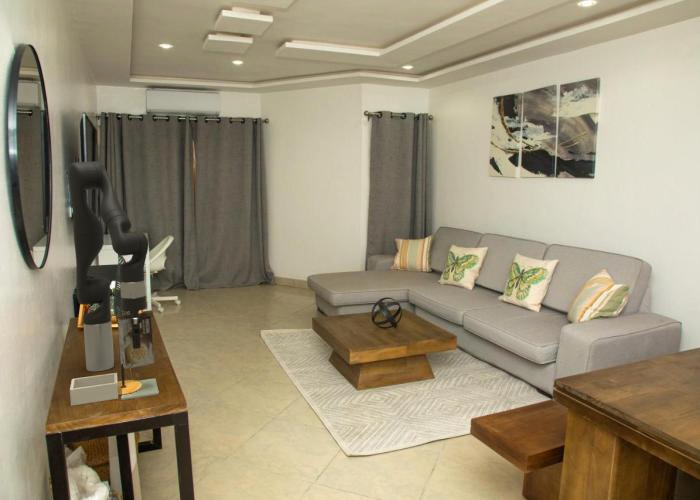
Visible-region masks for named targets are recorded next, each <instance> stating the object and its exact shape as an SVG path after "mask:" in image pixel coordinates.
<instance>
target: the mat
mask: <svg viewBox="0 0 700 500" xmlns="http://www.w3.org/2000/svg"><path fill="white" fill-rule="evenodd" d="M137 381H138V382H141V383H142V387H141V389H140V390H138V391H137V392H134V393H132V394H127V395H122V396H121V395H120V396H121V397H120V398H121V401H126V400H130V399H138V398H139V399H140V398H144V397H149V396H157V395H159V394H160V391H159V388H158V384H157V379H156V377H155V378H148V379H142V380H137Z"/></svg>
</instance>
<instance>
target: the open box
mask: <svg viewBox="0 0 700 500" xmlns="http://www.w3.org/2000/svg"><path fill="white" fill-rule="evenodd" d="M70 383H71V384H70V388H69V396H70V397H69V398H70V407H72V406H73V407H74V406H78V405H84V404H85V405H86V404H91V403H98V402H103V401H112V400H116V399H117V400H119V386H118V385H119V384H118V383H119V382H118V372H113V373H106V374H98V375H92V376H85V377H77V378H72V379H71V382H70Z"/></svg>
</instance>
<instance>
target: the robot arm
mask: <svg viewBox="0 0 700 500" xmlns="http://www.w3.org/2000/svg"><path fill="white" fill-rule="evenodd" d="M67 171H68V173H67V177H68V184H69V191H70V198H71V205H72V207H71V208H72V216H73V217H72V218H73V219H72V221H73V225H72V226H73V241H74V243H73V244H74V251H75V253H74V254H75V263H76V264H75V265H76V272H75V273H76V276H75V277H76V278H75V279H76V280H75V281H76V285H75V287H76V299H77V302H78V304H79V305H82V306H85V305H96V304H100V305H99V306H98V307H96V308H95V309H94V310H92V311H90V312H87V313H85V314H84V315H83V316H82V321H83V339H84V353H85V364H86V365H85V367H86V370H87V371H88V372H102V371H107V370H110V369H112V368H114V367H115V360H114V345H113V344H114V342H113V341H114V340H113V328H112V327H113V326H112V313H111V312H112V311H111V287H110V286H111V284H110V281H109V279H108V278H107V277H94V278H93V277H92V278H91V277H90V278H87V277H88V273H89V271H90V268H91V266H92V264H93V262H95V260H96V258H97V256H98V255H99V254H100V252H101V251H102V249H103V246H104V241H105V240H104V226H103V224H102V222H101V220H100V219H99V217H98V216H97V215H96V213H94V211H93V210H92V209H91V207H90V206H89V204H88V203H87V200H86V195H85V191H86V190H98V189H99V190H100V191H101V193H102V194H101V195H102V196H101V197H102V198H101V203H100V206H99V213H100V217H101V219H102V221H103V223H104V224H105V226H106V228H107V230H108V232H109V237H110V240H111V247H112V249H113V252H115V253H116V254H117V255H118V256H122V257H124V256H131V257H130V260H129V261H125V262H123V263H122V264H120V267H119V271H120V272H119V273H120V304H121V306H120V307H121V310H122V311H124V312H127V313H128V312H129V313H130V314H131V315H130V314H127V315H128V316H129V317H128V318H130V317H131V324H132V327H131V328H130V330H132V338H133V348H134V349H137V348H140V347H141V345H140V336H141V333H140V330H141V323H140V318H139V316H141V314H139V313H140V311H143V310H145V309H147V306H148V304H147V289H146V282H145V264H146V259H147V254H148V250H149V239H148V237H147V235H146V234H145V233H143V232H142V231H141V232H140V231H137V232H136V231H135V232H129V231H130V230H131V228H132V222H131V221H130V218H129V217H128V215H127V213H126V212H125V210H124V209H123V207H122V205H121V203H120V201H119V199H118V196H117V193H116V191H115V189H114V186H113V183H112V181H111V178H110V175H109V173H108V171H107V169H106V168H105V166H104V165H103V164H102V163H101V162H99V161H77V162H76V161H75V162H72V163H70V164H69V166H68V169H67ZM133 330H138V332H136V333H134V331H133Z"/></svg>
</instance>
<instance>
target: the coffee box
mask: <svg viewBox="0 0 700 500" xmlns="http://www.w3.org/2000/svg"><path fill="white" fill-rule="evenodd" d="M139 314H141V316H139V318H140V323H141V330H140V333H141V336H140V345H141V347H140V348H137V349H134V348H133V338H132V330H130V328H131V327H132V324H131V317H130V318H128V317H129V316H128V315H131V314H126V315H125V314H124V315H118V316H117V327H118V328H117V330H118V341H119V343H118V344H119V355H120V356H119V357H120V365H121V366H122V364H123V366H122V367H123V368H124V369H125V370H128V369H133V368H137V367H142V366H146V365H151V364H155V353H154V342H153V341H154V339H153V324H152V315H150V314H149V313H147V312H139ZM133 331H134V333H136V332H138V330H133Z"/></svg>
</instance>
